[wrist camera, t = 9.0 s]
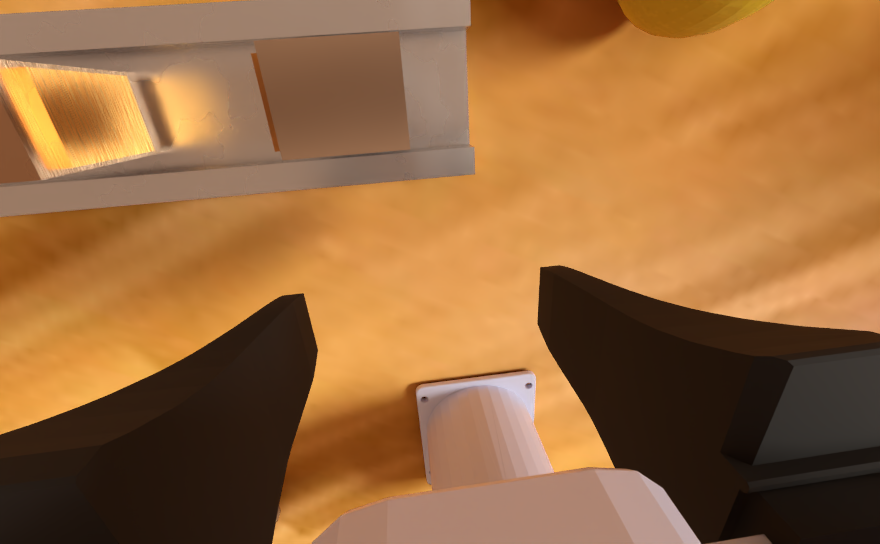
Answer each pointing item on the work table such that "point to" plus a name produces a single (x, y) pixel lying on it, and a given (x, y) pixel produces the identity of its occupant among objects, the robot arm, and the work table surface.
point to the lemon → (687, 15)
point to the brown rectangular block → (333, 94)
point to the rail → (204, 101)
